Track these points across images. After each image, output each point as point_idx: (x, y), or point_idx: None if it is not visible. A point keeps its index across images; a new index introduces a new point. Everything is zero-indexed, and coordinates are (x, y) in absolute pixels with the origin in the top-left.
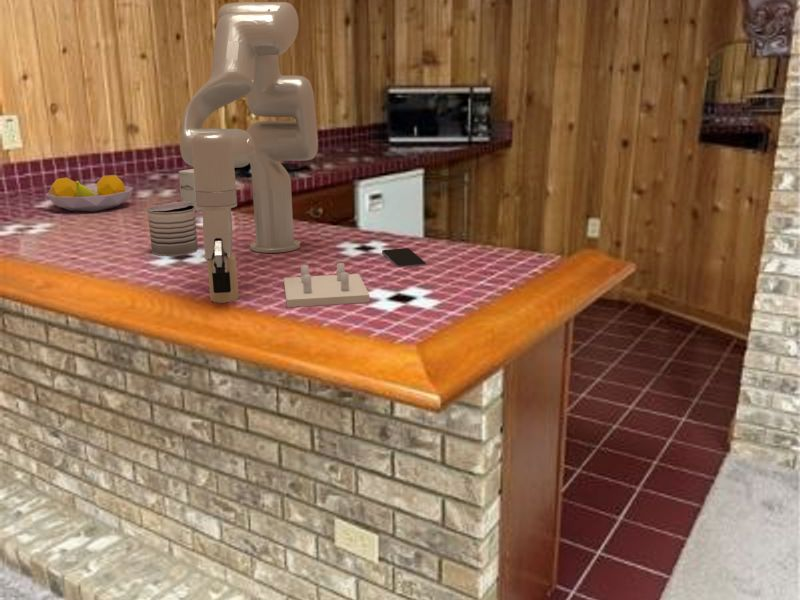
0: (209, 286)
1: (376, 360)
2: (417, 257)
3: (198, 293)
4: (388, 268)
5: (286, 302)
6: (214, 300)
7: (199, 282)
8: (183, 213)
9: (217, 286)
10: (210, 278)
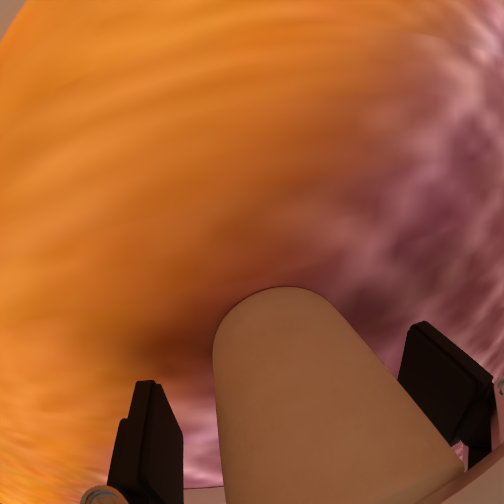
0: (271, 333)
1: (4, 495)
2: None
3: (392, 199)
4: None
5: (203, 492)
6: (224, 321)
7: (499, 185)
8: None
9: (119, 427)
10: (252, 394)
